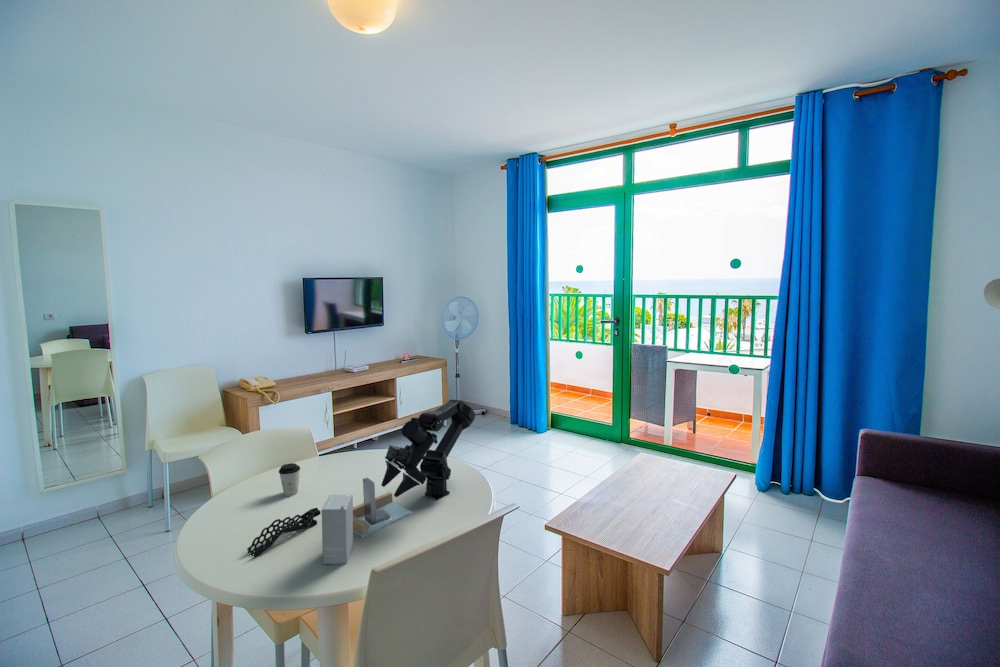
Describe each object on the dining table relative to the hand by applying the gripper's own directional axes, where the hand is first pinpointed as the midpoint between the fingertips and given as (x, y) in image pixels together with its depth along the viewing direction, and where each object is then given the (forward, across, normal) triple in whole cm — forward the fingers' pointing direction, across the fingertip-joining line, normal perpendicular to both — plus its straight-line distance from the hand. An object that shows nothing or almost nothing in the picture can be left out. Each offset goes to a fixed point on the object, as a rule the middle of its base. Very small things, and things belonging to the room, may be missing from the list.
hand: (388, 491), depth 145 cm
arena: (+8, -1, +3) cm, 9 cm away
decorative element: (+26, -8, -14) cm, 31 cm away
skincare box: (+20, +11, -8) cm, 24 cm away
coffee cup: (+20, -38, -8) cm, 44 cm away
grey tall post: (+8, 0, +2) cm, 9 cm away
